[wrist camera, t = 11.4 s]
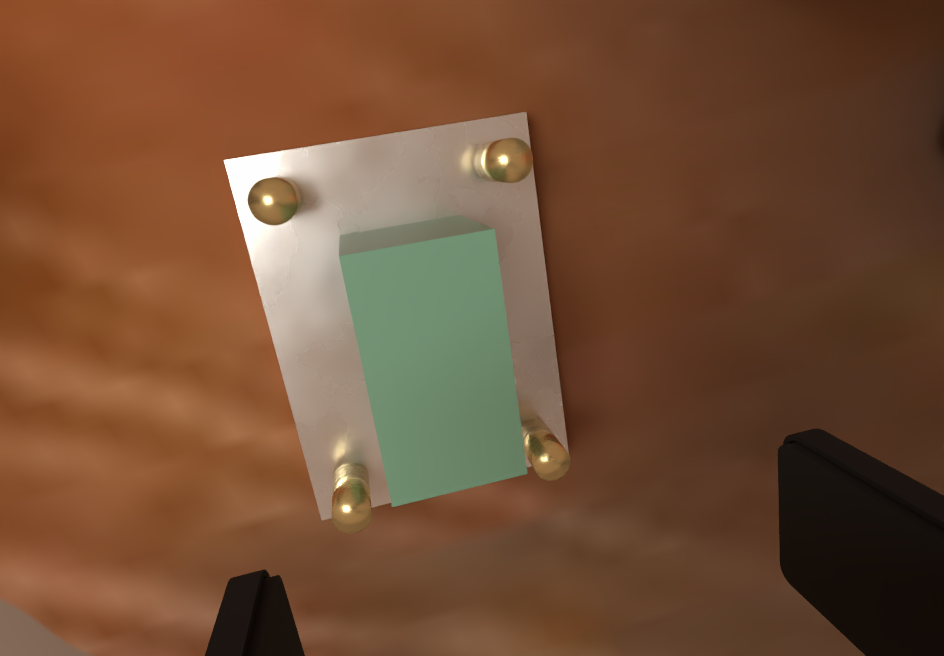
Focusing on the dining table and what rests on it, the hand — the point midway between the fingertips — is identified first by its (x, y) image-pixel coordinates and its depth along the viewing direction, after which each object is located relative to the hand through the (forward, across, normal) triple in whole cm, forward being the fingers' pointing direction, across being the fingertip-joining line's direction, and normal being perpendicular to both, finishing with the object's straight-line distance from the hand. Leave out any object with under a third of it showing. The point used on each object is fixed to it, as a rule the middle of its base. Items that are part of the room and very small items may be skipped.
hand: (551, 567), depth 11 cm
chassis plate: (+17, +1, -1) cm, 17 cm away
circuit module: (+16, +1, 0) cm, 16 cm away
